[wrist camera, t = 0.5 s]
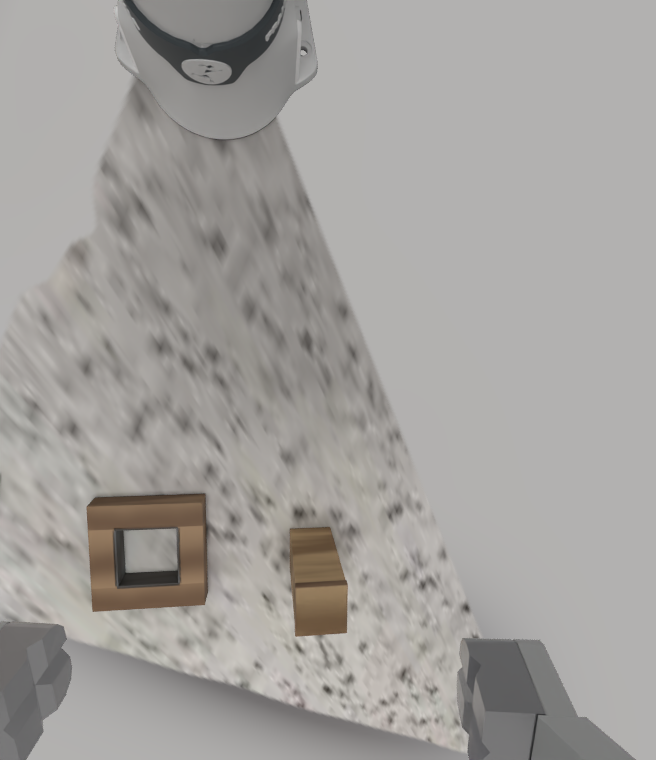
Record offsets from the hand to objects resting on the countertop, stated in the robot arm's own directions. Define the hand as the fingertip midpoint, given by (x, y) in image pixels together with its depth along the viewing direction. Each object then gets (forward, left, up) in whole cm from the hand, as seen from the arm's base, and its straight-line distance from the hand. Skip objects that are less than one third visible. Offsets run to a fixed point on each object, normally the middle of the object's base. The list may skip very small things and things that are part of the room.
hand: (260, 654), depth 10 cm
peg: (+19, +5, -43) cm, 47 cm away
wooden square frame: (+18, -12, -43) cm, 48 cm away
